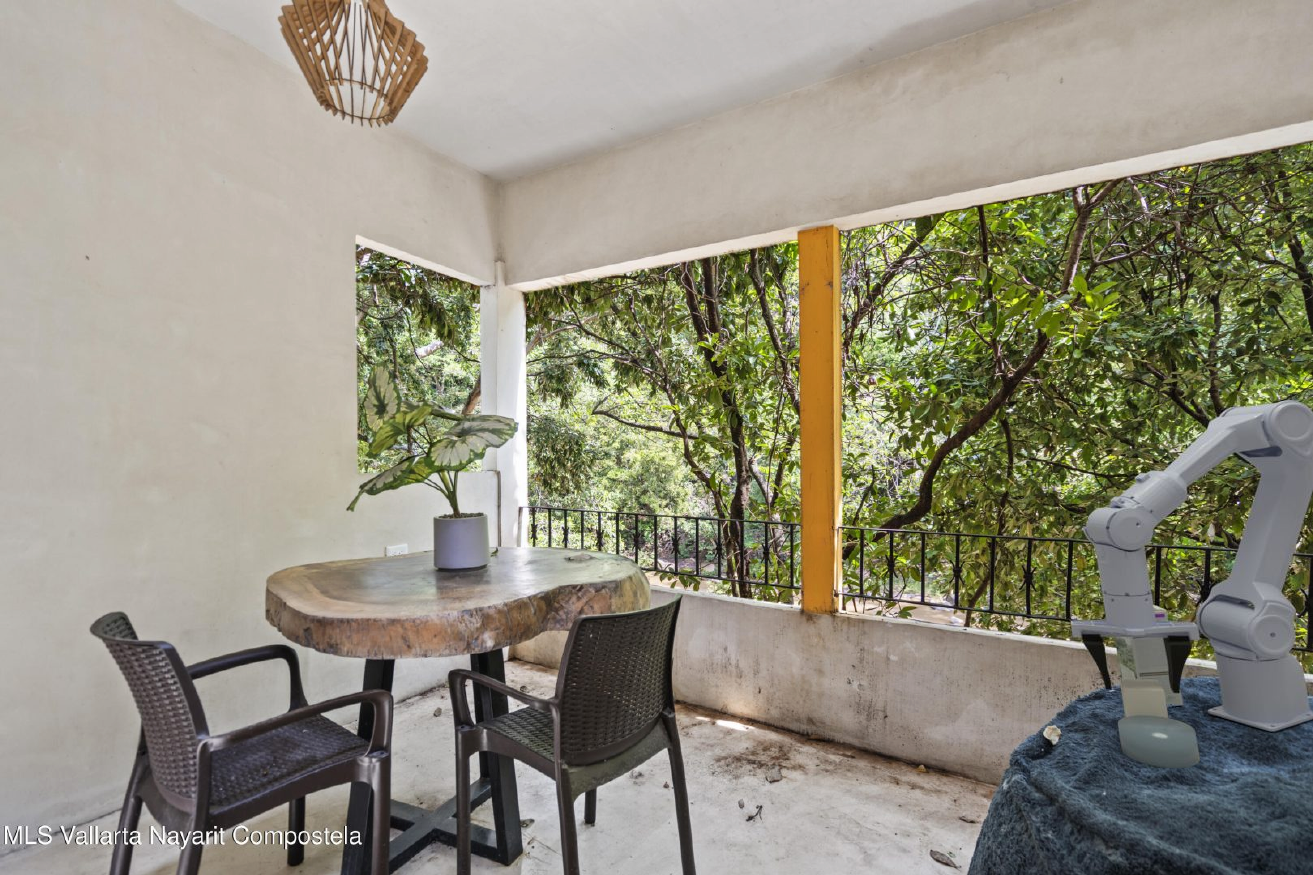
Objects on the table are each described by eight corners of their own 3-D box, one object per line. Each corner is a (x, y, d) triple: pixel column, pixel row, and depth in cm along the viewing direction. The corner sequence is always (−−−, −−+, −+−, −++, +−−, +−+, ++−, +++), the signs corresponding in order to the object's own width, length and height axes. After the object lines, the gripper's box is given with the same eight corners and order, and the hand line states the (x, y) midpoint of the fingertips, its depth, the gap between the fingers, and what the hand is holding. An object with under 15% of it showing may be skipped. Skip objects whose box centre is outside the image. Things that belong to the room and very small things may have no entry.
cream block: (1125, 720, 94) (1119, 678, 94) (1164, 722, 92) (1157, 679, 92) (1130, 732, 90) (1123, 688, 90) (1171, 735, 88) (1163, 690, 88)
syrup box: (1185, 707, 96) (1169, 608, 96) (1140, 708, 97) (1125, 611, 98) (1163, 693, 101) (1148, 600, 102) (1121, 695, 102) (1107, 603, 103)
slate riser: (1151, 736, 88) (1147, 710, 88) (1216, 759, 81) (1211, 731, 81) (1107, 750, 86) (1102, 723, 86) (1168, 775, 78) (1164, 745, 79)
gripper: (1068, 598, 92) (1082, 695, 91) (1198, 597, 85) (1214, 702, 84) (1065, 588, 98) (1078, 678, 97) (1185, 586, 91) (1201, 684, 90)
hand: (1141, 689), depth 91 cm, fingers open, 7 cm apart
